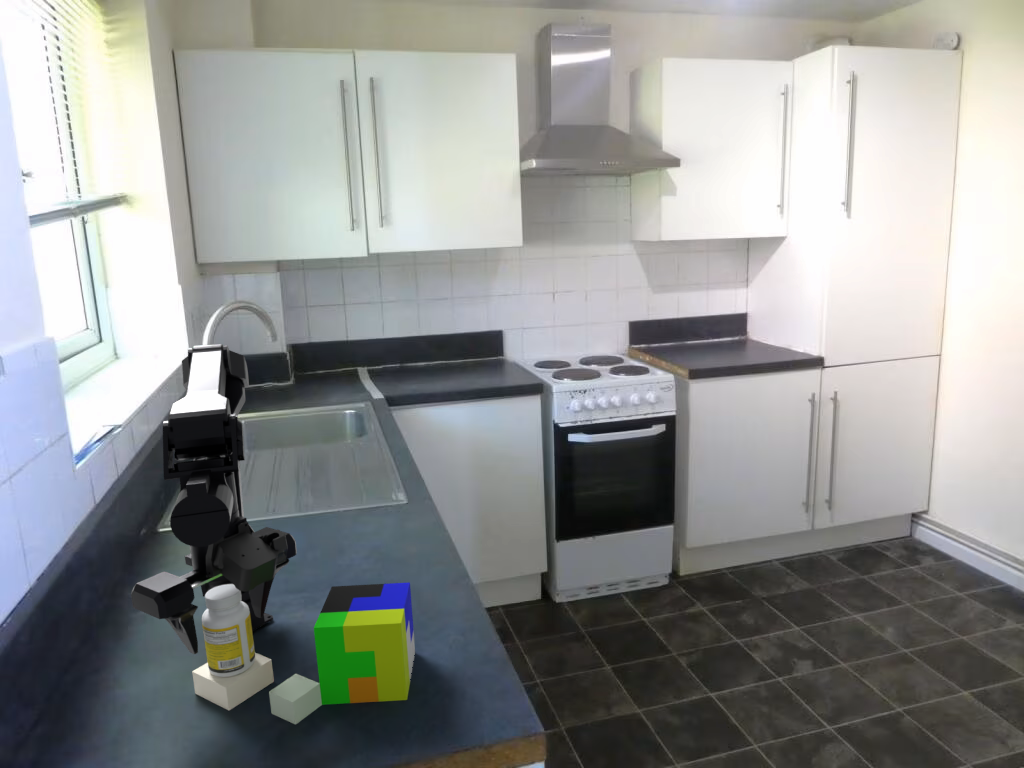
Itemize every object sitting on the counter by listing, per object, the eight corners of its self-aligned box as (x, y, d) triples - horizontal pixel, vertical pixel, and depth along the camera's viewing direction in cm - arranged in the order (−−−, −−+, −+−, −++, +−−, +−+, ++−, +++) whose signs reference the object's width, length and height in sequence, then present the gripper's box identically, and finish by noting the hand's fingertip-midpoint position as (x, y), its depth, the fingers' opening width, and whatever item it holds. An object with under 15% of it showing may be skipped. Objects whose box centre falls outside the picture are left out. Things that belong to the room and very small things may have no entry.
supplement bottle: (235, 648, 93) (227, 577, 91) (265, 660, 90) (257, 587, 88) (198, 670, 88) (188, 596, 86) (228, 683, 85) (218, 607, 83)
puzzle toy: (415, 652, 96) (409, 582, 94) (407, 700, 86) (401, 623, 84) (338, 656, 96) (331, 586, 94) (321, 705, 86) (313, 627, 84)
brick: (271, 714, 85) (268, 691, 84) (298, 695, 88) (295, 673, 87) (295, 725, 82) (292, 702, 82) (321, 706, 86) (319, 683, 85)
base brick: (195, 693, 89) (192, 671, 88) (240, 666, 94) (237, 645, 93) (229, 710, 85) (226, 687, 85) (274, 681, 91) (271, 659, 90)
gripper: (180, 558, 73) (199, 696, 76) (321, 498, 88) (332, 615, 92) (119, 536, 79) (139, 666, 82) (260, 484, 94) (273, 595, 98)
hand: (228, 634), depth 88 cm, fingers open, 9 cm apart
